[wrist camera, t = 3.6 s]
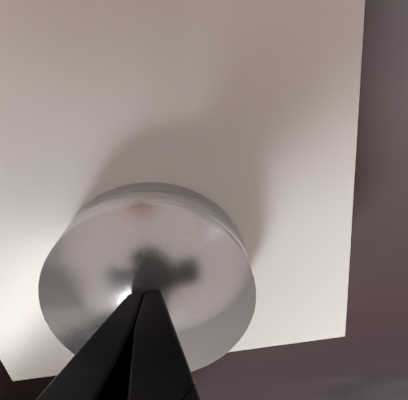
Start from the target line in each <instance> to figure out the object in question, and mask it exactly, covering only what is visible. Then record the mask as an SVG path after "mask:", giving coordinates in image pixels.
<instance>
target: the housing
mask: <svg viewBox="0 0 408 400" xmlns="http://www.w3.org/2000/svg"><path fill="white" fill-rule="evenodd" d="M364 11H365V0H0V360H1V362H2V363H3V365H4V367H5V369H6V370H7V372H8V374H9V376H10V378H11V379H12V381H18V380H26V379H33V378H41V377H48V376H55V375H58V374H59V373H60V371H61V370H62V369H63V368H64V367H65V366H66V365H67V363H68V362H69V361H70V360H71V359H72V358H73V357H74V356H75V355H74V354H73V353H72V352H71V351H70V350H68V349H67V348H66V347H65V346H64V345H63V344H62V343H61V342H60V341H59V340H58V339H57V338H56V337H55V335H54V334H53V332H52V331H51V330H50V328H49V326H48V325H47V323H46V321H45V319H44V316H43V314H42V311H41V308H40V303H39V297H38V284H39V277H40V273H41V270H42V267H43V264H44V262H45V260H46V258H47V256H48V254H49V253H50V251H51V249H52V248H53V247H54V245H55V244H56V242H57V241H58V239H59V238H60V237H61V235H62V234H63V232H64V231H65V229H66V228H67V227H68V225H69V224H70V222H71V221H72V220H73V218H74V217H75V216H76V214H77V213H78V212H79V211H80V210H81V209H82V208H83V207H84V206H85V205H86V204H87V203H89V202H90V201H91V200H93V199H94V198H96V197H97V196H99V195H101V194H103V193H105V192H107V191H109V190H111V189H114V188H117V187H120V186H124V185H129V184H133V183H143V182H159V183H167V184H174V185H178V186H181V187H185V188H188V189H191V190H193V191H195V192H198V193H200V194H202V195H203V196H205V197H207V198H208V199H210V200H212V201H213V202H214V203H216V204H217V205H218V206H219V207H221V208H222V209H223V210H224V211H225V212H226V213H227V214H228V216H229V217H230V218H231V219H232V221H233V222H234V224H235V225H236V227H237V229H238V230H239V232H240V234H241V237H242V240H243V243H244V246H245V249H246V252H247V256H248V259H249V263H250V266H251V269H252V273H253V276H254V280H255V286H256V304H255V311H254V314H253V317H252V320H251V323H250V324H249V326H248V328H247V330H246V332H245V333H244V335H243V336H242V338H241V339H240V340H239V341H238V343H237V344H236V345H235V346H234V347H233V348H232V349H231V350H230V351H228V352H232V351H240V350H247V349H255V348H262V347H269V346H277V345H284V344H291V343H299V342H306V341H314V340H321V339H328V338H336V337H343V336H345V328H346V311H347V295H348V278H349V261H350V245H351V228H352V211H353V195H354V178H355V161H356V145H357V128H358V111H359V95H360V78H361V61H362V44H363V28H364Z"/></svg>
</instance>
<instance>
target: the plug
mask: <svg viewBox="0 0 408 400" xmlns="http://www.w3.org/2000/svg"><path fill="white" fill-rule="evenodd" d="M155 290H160V291H161V293H162V296H163V298H164V301H165V304H166V306H167V309H168V312H169V314H170V317H171V320H172V322H173V325H174V328H175V330H176V333H177V336H178V338H179V341H180V344H181V347H182V349H183V352H184V355H185V357H186V360H187V363H188V365H189V368H190V371H191V372H192V371H195V370H197V369H200V368H202V367H205V366H207V365H209V364H211V363H213V362H214V361H216V360H217V359H219V358H220V357H222V356H224V355H225V354H226V353H227V352H228V351H230V350H231V349H232V348H233V347H234V346H235V345H236V344H237V343H238V341H239V340H240V339H241V338H242V336H243V335H244V333H245V332H246V330H247V328H248V326H249V324H250V323H251V320H252V317H253V314H254V311H255V304H256V286H255V280H254V276H253V273H252V269H251V266H250V263H249V259H248V256H247V252H246V249H245V246H244V243H243V240H242V237H241V234H240V232H239V230H238V229H237V227H236V225H235V224H234V222H233V221H232V219H231V218H230V217H229V216H228V214H227V213H226V212H225V211H224V210H223V209H222V208H221V207H219V206H218V205H217V204H216V203H214V202H213V201H212V200H210V199H208V198H207V197H205V196H203V195H202V194H200V193H198V192H195V191H193V190H191V189H188V188H185V187H181V186H178V185H174V184H167V183H159V182H143V183H133V184H129V185H124V186H120V187H117V188H114V189H111V190H109V191H107V192H105V193H103V194H101V195H99V196H97V197H96V198H94V199H93V200H91V201H90V202H89V203H87V204H86V205H85V206H84V207H83V208H82V209H81V210H80V211H79V212H78V213H77V214H76V216H75V217H74V218H73V220H72V221H71V222H70V224H69V225H68V227H67V228H66V229H65V231H64V232H63V234H62V235H61V237H60V238H59V239H58V241H57V242H56V244H55V245H54V247H53V248H52V249H51V251H50V253H49V254H48V256H47V258H46V260H45V262H44V264H43V267H42V270H41V273H40V277H39V284H38V297H39V303H40V308H41V311H42V314H43V316H44V319H45V321H46V323H47V325H48V326H49V328H50V330H51V331H52V332H53V334H54V335H55V337H56V338H57V339H58V340H59V341H60V342H61V343H62V344H63V345H64V346H65V347H66V348H67V349H68V350H70V351H71V352H72V353H73V354H74V355H75V354H76V353H77V352H78V351H79V350H80V349H81V348H82V346H83V345H84V344H85V343H86V342H87V341H88V340H89V339H90V337H91V336H92V335H93V334H94V333H95V332H96V331H97V329H98V328H99V327H100V326H101V325H102V324H103V323H104V322H105V320H106V319H107V318H108V317H109V316H110V315H111V314H112V312H113V311H114V310H115V309H116V308H117V307H118V306H119V305H120V303H121V302H122V301H123V300H124V299H125V298H126V297H127V296H128V295H129V294H134V293H141V292H143V293H144V294H145V293H146V292H148V291H155Z"/></svg>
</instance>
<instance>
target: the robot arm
mask: <svg viewBox="0 0 408 400" xmlns="http://www.w3.org/2000/svg"><path fill="white" fill-rule="evenodd" d="M36 400H201V397H200V394H199V392H198V389H197V388H196V384H195V381H194V379H193V376H192V373H191V371H190V368H189V365H188V363H187V360H186V357H185V355H184V352H183V349H182V347H181V344H180V341H179V338H178V336H177V333H176V330H175V328H174V325H173V322H172V320H171V317H170V314H169V312H168V309H167V306H166V304H165V301H164V298H163V296H162V293H161V291H160V290H155V291H148V292H146V293H145V294H144V293H143V292H141V293H134V294H129V295H128V296H127V297H126V298H125V299H124V300H123V301H122V302H121V303H120V305H119V306H118V307H117V308H116V309H115V310H114V311H113V312H112V314H111V315H110V316H109V317H108V318H107V319H106V320H105V322H104V323H103V324H102V325H101V326H100V327H99V328H98V329H97V331H96V332H95V333H94V334H93V335H92V336H91V337H90V339H89V340H88V341H87V342H86V343H85V344H84V345H83V346H82V348H81V349H80V350H79V351H78V352H77V353H76V354H75V356H74V357H73V358H72V359H71V360H70V361H69V362H68V363H67V365H66V366H65V367H64V368H63V369H62V370H61V371H60V373H59V374H58V375H57V376H56V377H55V378H54V379H53V381H52V382H51V383H50V384H49V385H48V386H47V387H46V388H45V390H44V391H43V392H42V393H41V394H40V395H39V396H38V398H37V399H36Z"/></svg>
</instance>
